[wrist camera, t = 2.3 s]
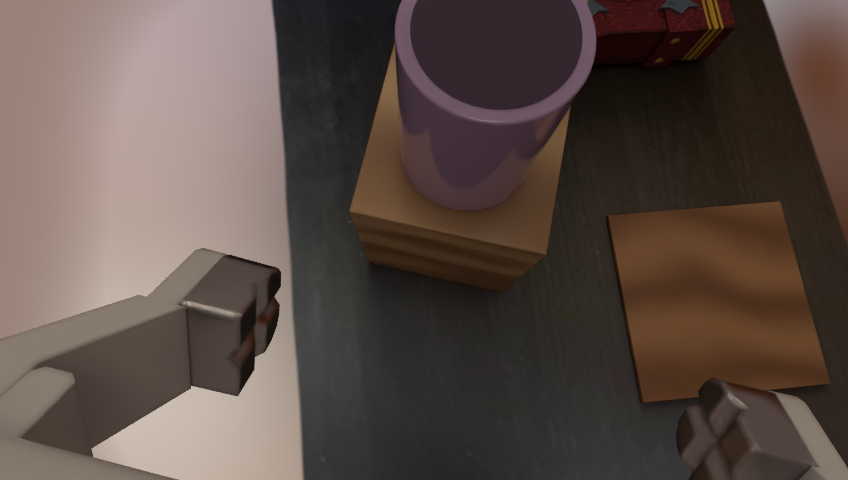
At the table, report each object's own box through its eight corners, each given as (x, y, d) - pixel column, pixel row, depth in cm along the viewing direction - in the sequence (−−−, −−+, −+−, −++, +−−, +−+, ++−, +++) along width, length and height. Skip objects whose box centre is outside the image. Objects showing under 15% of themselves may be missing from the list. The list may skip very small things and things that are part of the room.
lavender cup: (477, 238, 24) (516, 164, 15) (371, 155, 25) (351, 39, 16) (558, 141, 25) (637, 21, 17) (455, 64, 26) (479, -87, 18)
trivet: (826, 383, 35) (830, 383, 34) (640, 402, 34) (643, 402, 34) (776, 203, 38) (780, 201, 37) (605, 217, 37) (608, 215, 37)
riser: (501, 292, 36) (546, 255, 24) (368, 262, 36) (348, 211, 24) (540, 81, 40) (594, -38, 28) (420, 56, 40) (425, -72, 28)
